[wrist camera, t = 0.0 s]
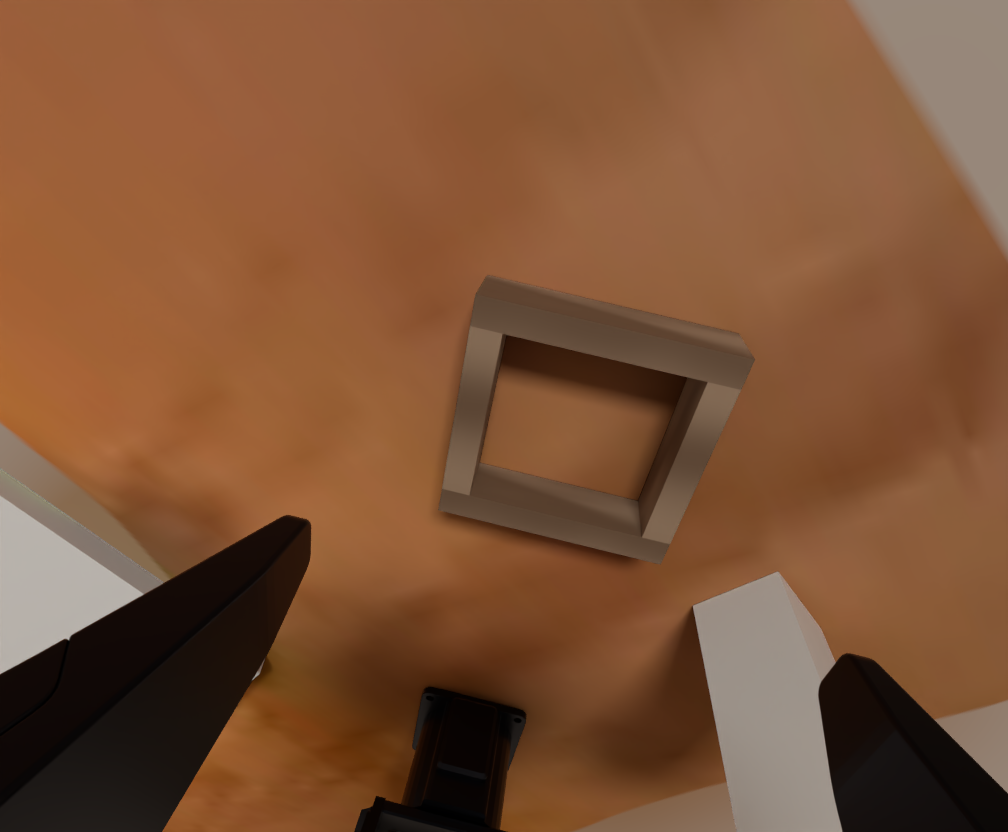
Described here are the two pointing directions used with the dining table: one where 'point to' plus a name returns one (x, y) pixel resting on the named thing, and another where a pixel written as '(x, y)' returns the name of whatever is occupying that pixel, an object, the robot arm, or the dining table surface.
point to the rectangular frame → (609, 334)
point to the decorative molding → (55, 575)
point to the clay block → (769, 706)
